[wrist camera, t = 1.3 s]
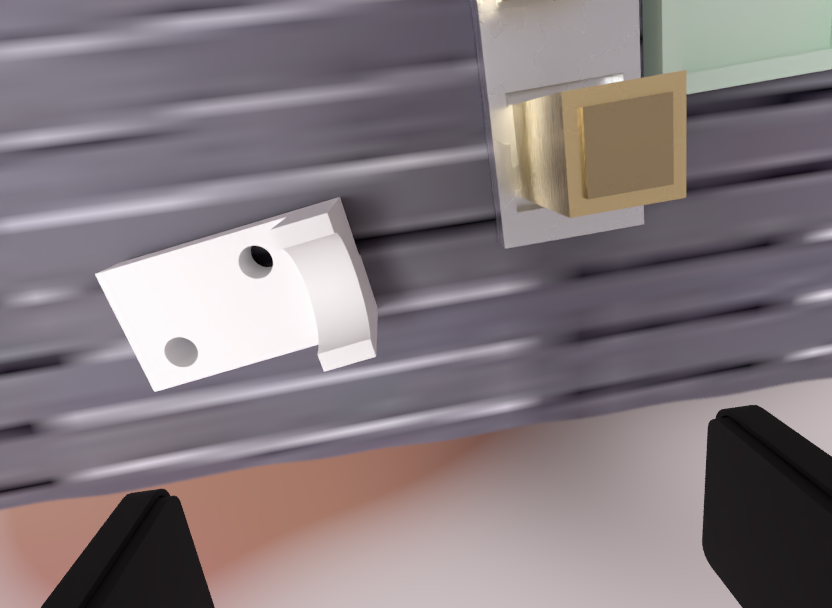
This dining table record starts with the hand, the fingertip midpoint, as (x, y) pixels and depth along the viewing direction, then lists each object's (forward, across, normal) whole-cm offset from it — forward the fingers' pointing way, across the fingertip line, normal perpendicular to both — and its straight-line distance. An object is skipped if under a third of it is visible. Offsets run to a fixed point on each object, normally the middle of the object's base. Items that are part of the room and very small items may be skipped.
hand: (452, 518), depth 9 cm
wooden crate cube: (+22, -9, -5) cm, 24 cm away
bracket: (+23, +9, 0) cm, 25 cm away
